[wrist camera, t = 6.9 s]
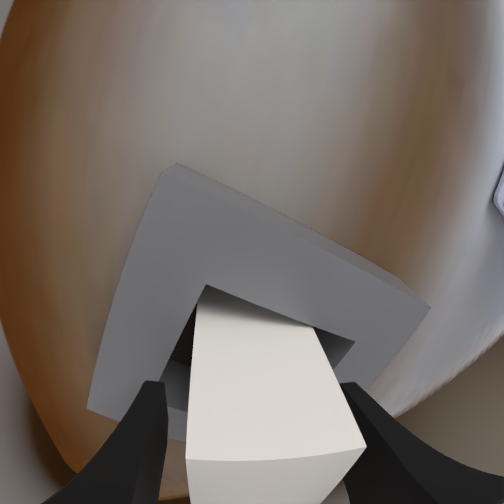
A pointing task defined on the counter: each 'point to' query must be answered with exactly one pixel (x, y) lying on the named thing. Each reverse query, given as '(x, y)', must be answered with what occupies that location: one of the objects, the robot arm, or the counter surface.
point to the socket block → (239, 292)
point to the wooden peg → (263, 409)
